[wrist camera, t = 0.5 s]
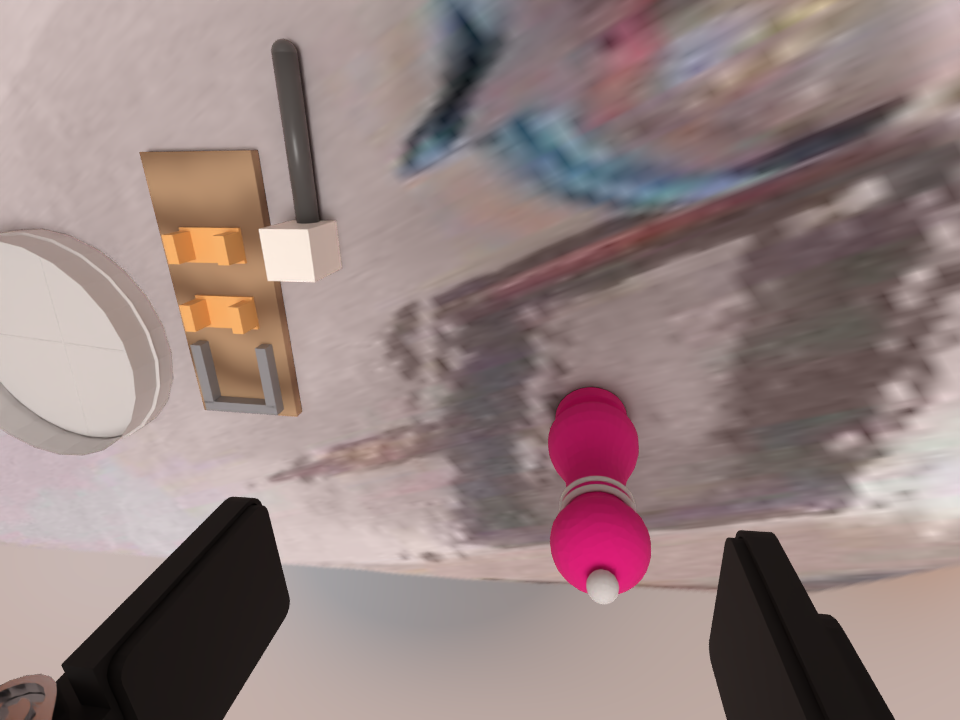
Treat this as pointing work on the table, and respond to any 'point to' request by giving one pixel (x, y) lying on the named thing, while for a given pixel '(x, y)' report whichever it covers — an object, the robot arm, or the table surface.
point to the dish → (75, 346)
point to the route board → (232, 204)
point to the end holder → (239, 404)
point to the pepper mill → (597, 496)
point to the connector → (297, 190)
